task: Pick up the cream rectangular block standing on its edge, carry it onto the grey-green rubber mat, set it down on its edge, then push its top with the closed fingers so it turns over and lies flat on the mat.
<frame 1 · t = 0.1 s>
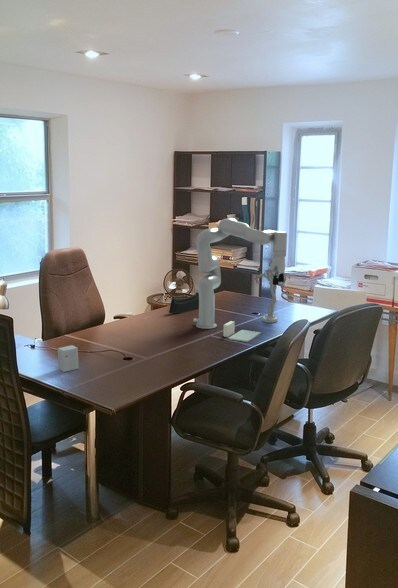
hand: (278, 283, 332), 31 cm above the table, tool pointing down, fingers open, 9 cm apart
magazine: (186, 311, 398), on the table
small box: (68, 369, 279), on the table
cream rectangular block: (228, 334, 341), on the table
mat: (244, 336, 338), on the table
grey tall branched form: (270, 320, 375), on the table
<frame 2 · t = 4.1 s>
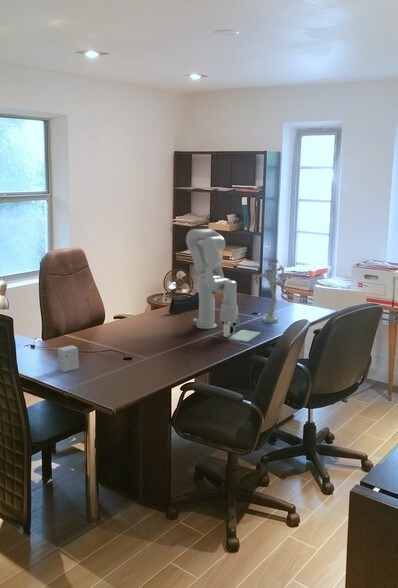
hand: (229, 332, 341), 1 cm above the table, tool pointing down, fingers closed on cream rectangular block, 2 cm apart
cream rectangular block: (228, 334, 341), on the table, touching gripper
everything else where it was.
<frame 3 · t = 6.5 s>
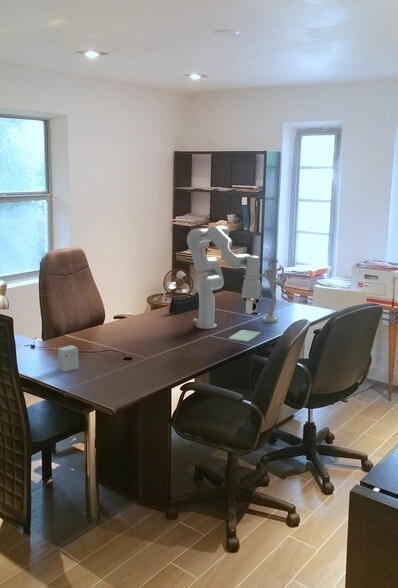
hand: (251, 309, 331), 17 cm above the table, tool pointing down, fingers closed on cream rectangular block, 2 cm apart
cream rectangular block: (251, 311, 332), point 15 cm above the table, touching gripper
everything else where it was.
when the fingers open (2 cm above the table, at t = 9.2 s): cream rectangular block stays where it is, resting on mat.
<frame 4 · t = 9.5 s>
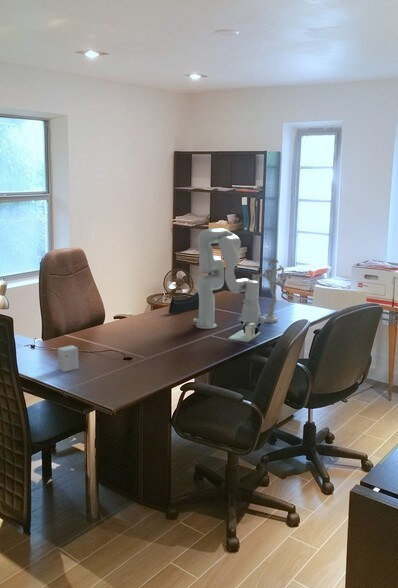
hand: (250, 332, 334), 3 cm above the table, tool pointing down, fingers open, 6 cm apart
cream rectangular block: (250, 336, 335), point 1 cm above the table, touching mat
everything else where it was.
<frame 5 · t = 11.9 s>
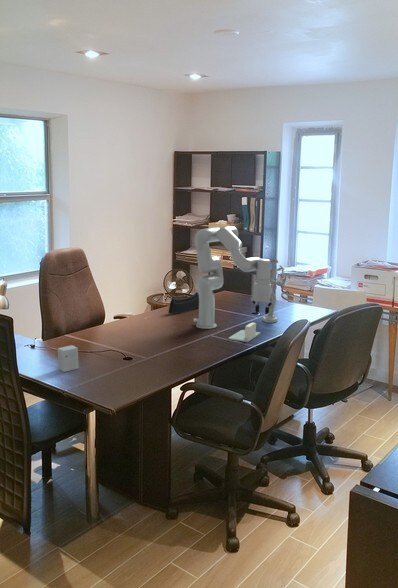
hand: (262, 312, 329), 15 cm above the table, tool pointing down, fingers open, 4 cm apart
nothing on the table moved.
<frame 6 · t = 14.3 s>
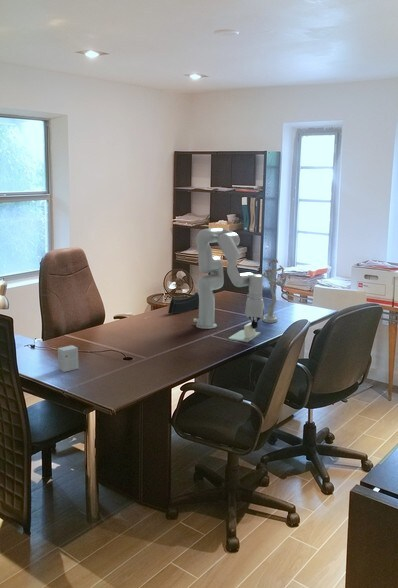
hand: (254, 328, 333), 6 cm above the table, tool pointing down, fingers closed
cream rectangular block: (250, 336, 335), point 1 cm above the table, tilted 7°, touching mat
everything else where it was.
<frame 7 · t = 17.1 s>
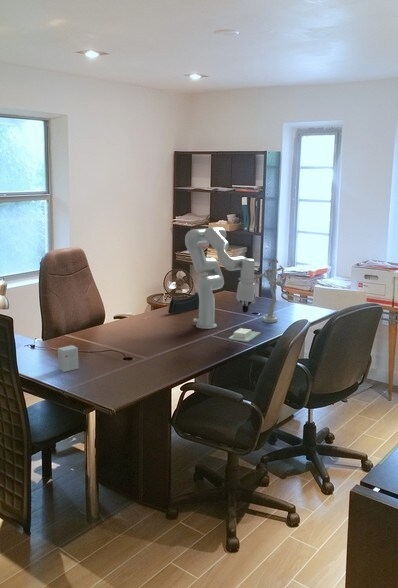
hand: (245, 312, 334), 15 cm above the table, tool pointing down, fingers closed
cream rectangular block: (248, 333, 335), point 2 cm above the table, tilted 90°, touching mat
everything else where it was.
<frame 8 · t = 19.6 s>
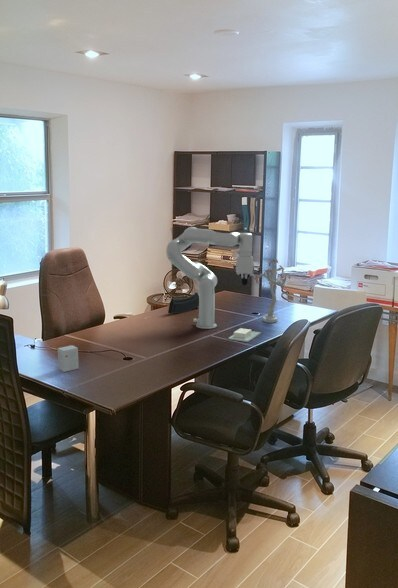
hand: (244, 284, 348), 27 cm above the table, tool pointing down, fingers closed
nothing on the table moved.
at the end: cream rectangular block tilted 90°; cream rectangular block inside the target area (2.6 cm from its centre), point 2.1 cm above the table; the gripper is holding nothing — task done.
